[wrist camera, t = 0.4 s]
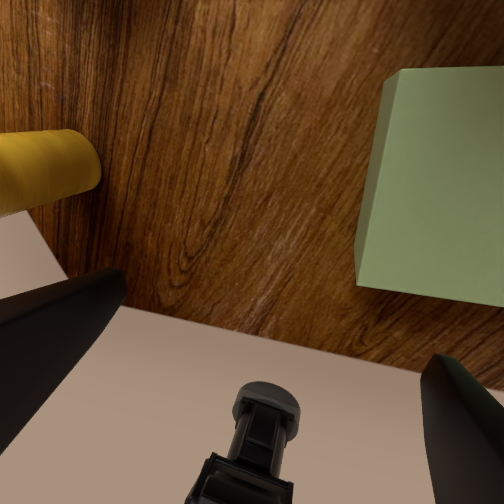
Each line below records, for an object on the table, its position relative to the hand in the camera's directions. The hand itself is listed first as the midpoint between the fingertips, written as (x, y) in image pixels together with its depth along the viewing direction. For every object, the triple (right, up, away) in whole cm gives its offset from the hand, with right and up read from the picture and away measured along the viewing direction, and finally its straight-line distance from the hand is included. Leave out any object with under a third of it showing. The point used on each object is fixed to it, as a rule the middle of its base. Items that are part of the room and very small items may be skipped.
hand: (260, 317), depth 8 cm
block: (+12, +6, +8) cm, 15 cm away
